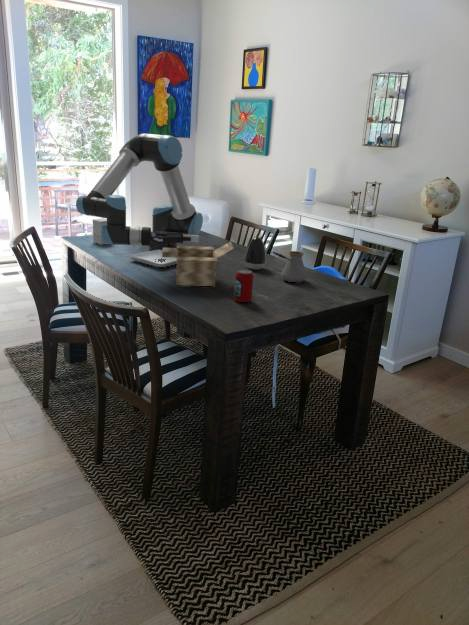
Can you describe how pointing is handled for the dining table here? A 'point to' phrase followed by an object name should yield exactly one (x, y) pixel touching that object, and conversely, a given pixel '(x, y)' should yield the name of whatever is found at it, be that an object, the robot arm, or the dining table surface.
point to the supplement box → (98, 230)
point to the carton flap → (224, 250)
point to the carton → (193, 265)
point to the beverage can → (243, 285)
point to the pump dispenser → (255, 254)
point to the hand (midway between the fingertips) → (198, 238)
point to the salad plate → (152, 255)
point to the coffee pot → (293, 267)
